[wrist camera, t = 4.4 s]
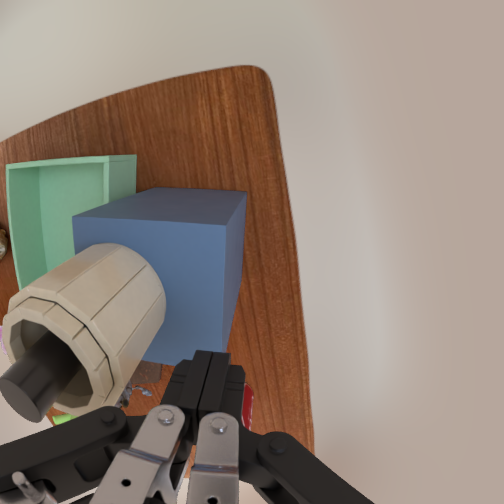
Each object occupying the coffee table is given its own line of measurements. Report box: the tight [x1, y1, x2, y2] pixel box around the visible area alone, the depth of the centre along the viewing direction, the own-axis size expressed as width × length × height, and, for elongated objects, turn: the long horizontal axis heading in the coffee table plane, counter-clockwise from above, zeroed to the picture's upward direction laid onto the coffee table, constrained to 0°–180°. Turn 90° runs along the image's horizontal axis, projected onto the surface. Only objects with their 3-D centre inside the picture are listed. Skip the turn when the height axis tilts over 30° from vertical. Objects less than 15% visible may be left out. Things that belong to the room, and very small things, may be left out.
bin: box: [6, 155, 137, 291], centre depth 31 cm, size 17×15×6 cm
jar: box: [2, 243, 166, 417], centre depth 14 cm, size 7×7×8 cm
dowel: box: [0, 312, 99, 423], centre depth 13 cm, size 2×2×10 cm
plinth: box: [72, 187, 247, 366], centre depth 26 cm, size 10×10×16 cm
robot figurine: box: [115, 360, 162, 408], centre depth 34 cm, size 11×9×12 cm
